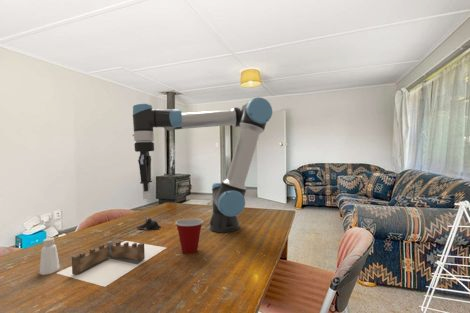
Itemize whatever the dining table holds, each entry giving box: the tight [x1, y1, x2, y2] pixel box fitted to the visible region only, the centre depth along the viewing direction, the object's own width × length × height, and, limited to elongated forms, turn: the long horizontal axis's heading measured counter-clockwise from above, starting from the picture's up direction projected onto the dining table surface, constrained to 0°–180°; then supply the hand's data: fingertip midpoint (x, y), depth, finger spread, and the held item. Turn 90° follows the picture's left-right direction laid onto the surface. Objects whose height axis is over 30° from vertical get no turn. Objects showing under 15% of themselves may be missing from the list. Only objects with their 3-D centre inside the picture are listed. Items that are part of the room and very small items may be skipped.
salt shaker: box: [39, 237, 61, 276], centre depth 76 cm, size 5×5×11 cm
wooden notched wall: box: [106, 240, 145, 261], centre depth 83 cm, size 15×2×6 cm, turn 76°
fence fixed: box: [71, 244, 109, 275], centre depth 78 cm, size 12×2×6 cm, turn 159°
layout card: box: [56, 240, 167, 288], centre depth 83 cm, size 22×28×1 cm
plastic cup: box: [175, 218, 204, 255], centre depth 90 cm, size 11×11×12 cm
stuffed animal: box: [135, 217, 161, 235], centre depth 115 cm, size 12×10×12 cm
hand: (147, 198), depth 95 cm, fingers closed
